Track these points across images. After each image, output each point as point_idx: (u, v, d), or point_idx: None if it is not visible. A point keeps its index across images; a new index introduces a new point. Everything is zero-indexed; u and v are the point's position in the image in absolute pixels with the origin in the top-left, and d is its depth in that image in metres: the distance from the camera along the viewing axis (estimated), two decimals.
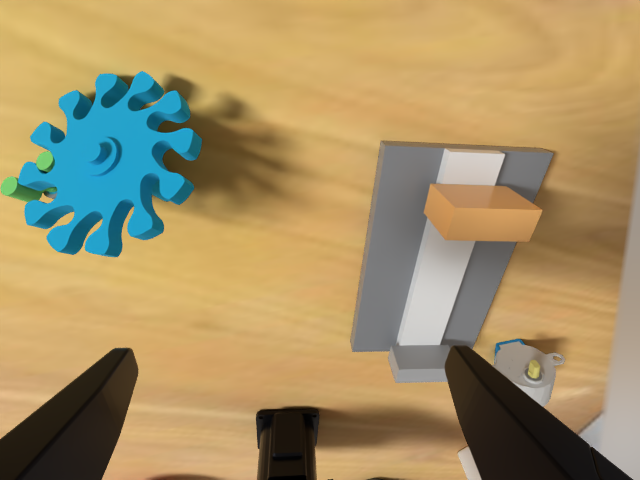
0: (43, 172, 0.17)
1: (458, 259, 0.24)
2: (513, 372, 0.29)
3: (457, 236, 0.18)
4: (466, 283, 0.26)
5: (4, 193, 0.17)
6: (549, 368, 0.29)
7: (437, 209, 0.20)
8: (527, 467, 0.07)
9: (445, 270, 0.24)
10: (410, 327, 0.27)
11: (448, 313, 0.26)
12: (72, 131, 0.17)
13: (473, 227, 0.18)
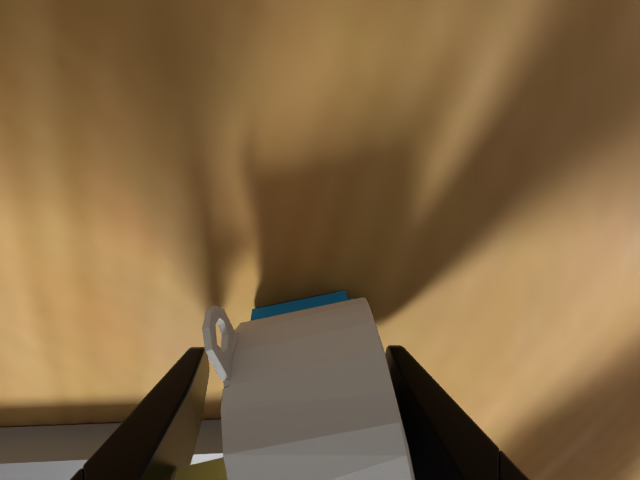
0: None
1: None
2: None
3: None
4: None
5: None
6: None
7: None
8: (438, 471, 0.07)
9: None
10: None
11: None
12: None
13: None
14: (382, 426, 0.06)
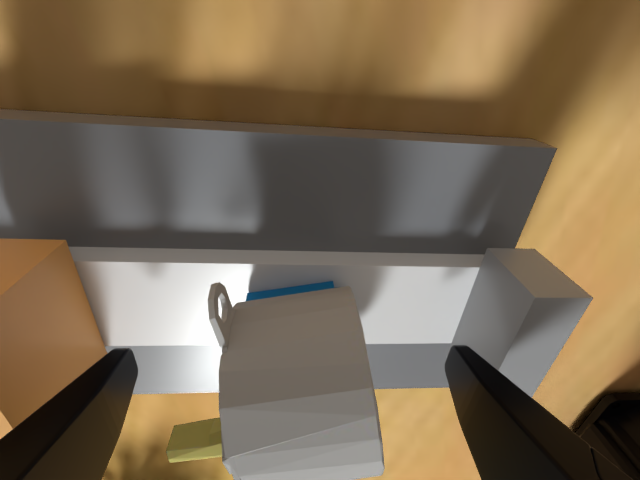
0: None
1: (208, 284, 0.10)
2: None
3: None
4: (297, 224, 0.10)
5: None
6: None
7: None
8: (527, 467, 0.07)
9: None
10: (400, 333, 0.12)
11: (371, 270, 0.11)
12: None
13: None
14: (357, 390, 0.07)
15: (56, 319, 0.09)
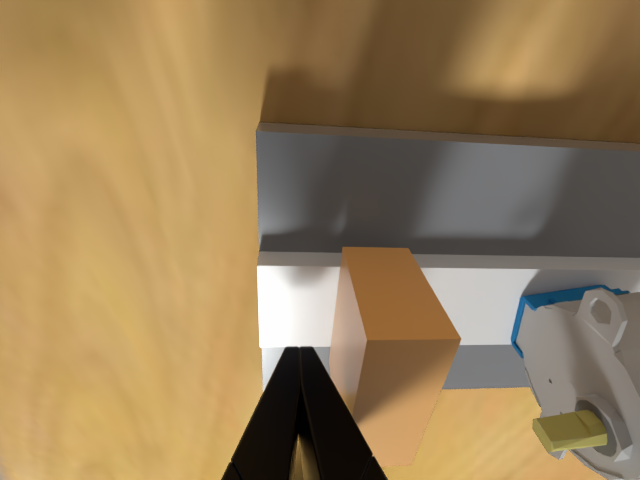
0: None
1: (490, 287, 0.11)
2: None
3: (408, 453, 0.09)
4: (572, 232, 0.11)
5: None
6: (613, 370, 0.08)
7: None
8: (312, 477, 0.06)
9: (508, 304, 0.12)
10: None
11: (637, 274, 0.11)
12: None
13: (391, 438, 0.09)
14: None
15: None
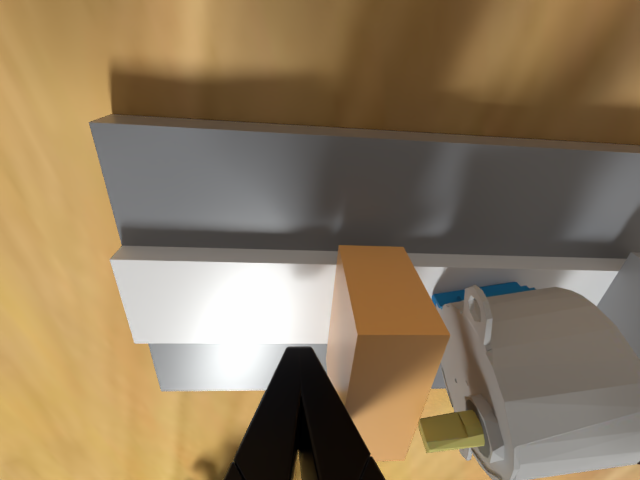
0: None
1: None
2: None
3: (401, 448, 0.09)
4: (447, 229, 0.11)
5: None
6: (487, 369, 0.08)
7: None
8: (310, 477, 0.06)
9: None
10: None
11: (517, 273, 0.11)
12: None
13: (383, 432, 0.09)
14: (634, 384, 0.07)
15: None
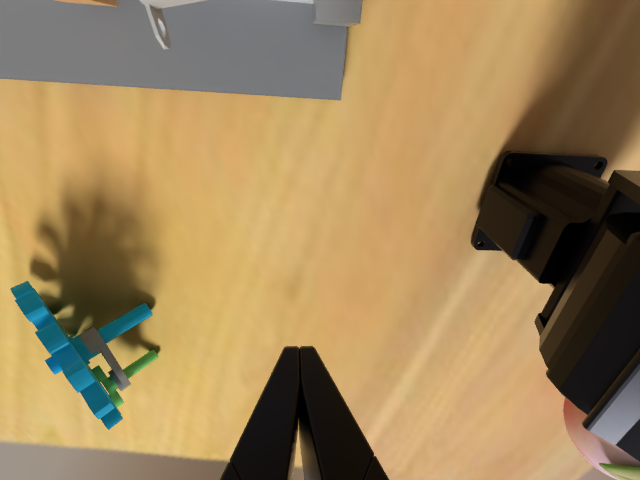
0: None
1: None
2: None
3: None
4: None
5: None
6: None
7: None
8: (314, 477, 0.06)
9: None
10: None
11: None
12: None
13: None
14: None
15: None
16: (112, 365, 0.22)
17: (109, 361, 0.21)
